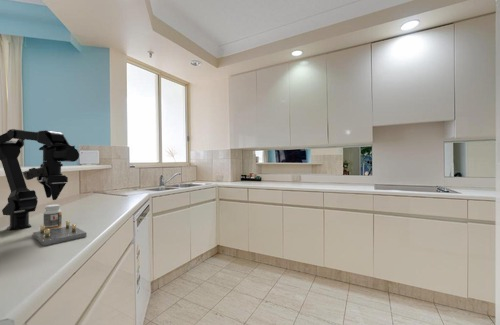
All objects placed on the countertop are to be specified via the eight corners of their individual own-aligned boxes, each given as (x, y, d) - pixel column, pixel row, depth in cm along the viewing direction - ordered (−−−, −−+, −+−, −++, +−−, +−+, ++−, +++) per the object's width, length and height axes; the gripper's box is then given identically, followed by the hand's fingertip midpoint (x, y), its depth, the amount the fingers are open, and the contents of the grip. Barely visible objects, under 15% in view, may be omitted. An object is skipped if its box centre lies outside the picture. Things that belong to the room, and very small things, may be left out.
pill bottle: (63, 228, 94) (64, 205, 94) (46, 231, 89) (46, 207, 89) (58, 226, 97) (58, 203, 97) (41, 229, 92) (41, 205, 92)
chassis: (33, 236, 83) (33, 225, 83) (72, 229, 93) (72, 219, 93) (43, 246, 73) (43, 234, 73) (86, 236, 83) (86, 226, 83)
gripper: (20, 160, 91) (19, 198, 91) (29, 161, 80) (29, 204, 80) (55, 161, 100) (54, 195, 100) (68, 161, 89) (67, 200, 89)
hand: (51, 198), depth 92 cm, fingers open, 9 cm apart
